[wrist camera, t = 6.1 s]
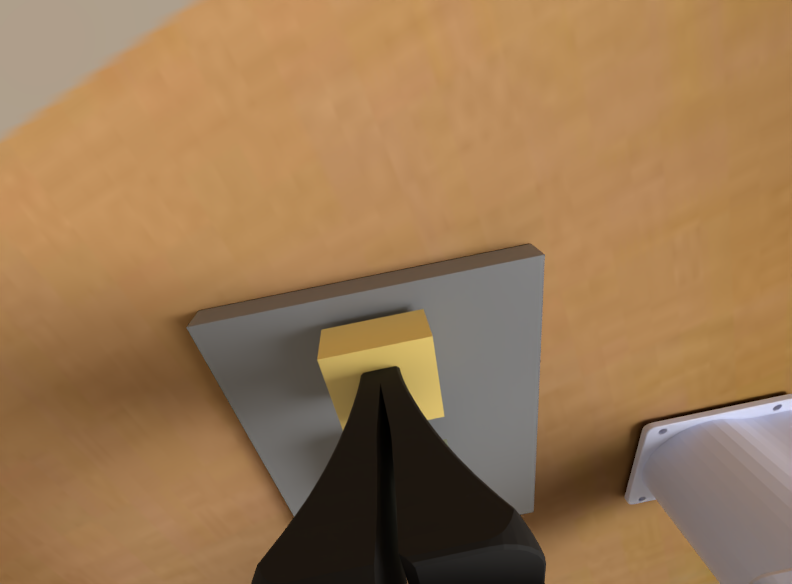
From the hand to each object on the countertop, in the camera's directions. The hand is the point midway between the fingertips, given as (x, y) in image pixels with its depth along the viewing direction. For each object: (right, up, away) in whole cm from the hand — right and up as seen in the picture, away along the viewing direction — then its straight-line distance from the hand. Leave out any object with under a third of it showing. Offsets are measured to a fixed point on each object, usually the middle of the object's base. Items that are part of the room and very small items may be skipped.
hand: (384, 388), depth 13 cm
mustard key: (0, +1, +3) cm, 3 cm away
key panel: (+1, -4, +6) cm, 7 cm away
